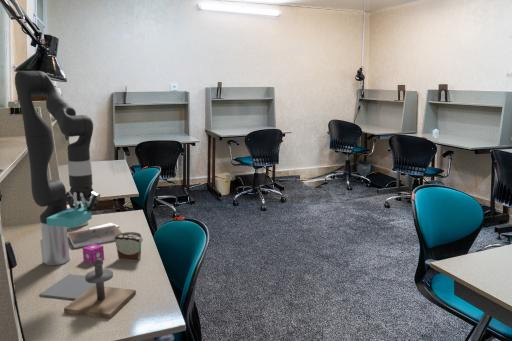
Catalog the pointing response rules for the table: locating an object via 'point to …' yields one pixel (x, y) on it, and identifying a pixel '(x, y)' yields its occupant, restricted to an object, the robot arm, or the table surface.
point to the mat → (68, 287)
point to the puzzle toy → (92, 253)
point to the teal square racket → (69, 218)
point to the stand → (100, 295)
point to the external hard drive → (104, 226)
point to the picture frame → (93, 236)
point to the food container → (129, 246)
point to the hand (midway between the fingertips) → (83, 219)
